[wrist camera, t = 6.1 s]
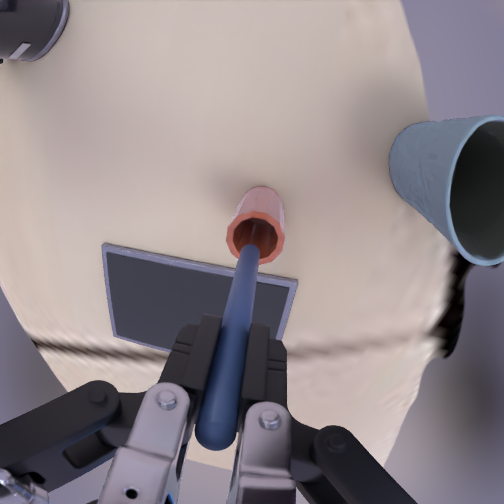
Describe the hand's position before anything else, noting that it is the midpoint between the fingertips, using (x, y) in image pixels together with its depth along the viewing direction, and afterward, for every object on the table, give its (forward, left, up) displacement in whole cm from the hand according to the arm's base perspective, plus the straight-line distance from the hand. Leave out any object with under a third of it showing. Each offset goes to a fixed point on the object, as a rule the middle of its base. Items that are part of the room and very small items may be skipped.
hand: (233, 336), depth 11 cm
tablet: (-6, -14, -18) cm, 23 cm away
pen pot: (0, 0, -18) cm, 18 cm away
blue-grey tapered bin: (+15, +8, -18) cm, 25 cm away
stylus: (0, 0, -8) cm, 8 cm away
